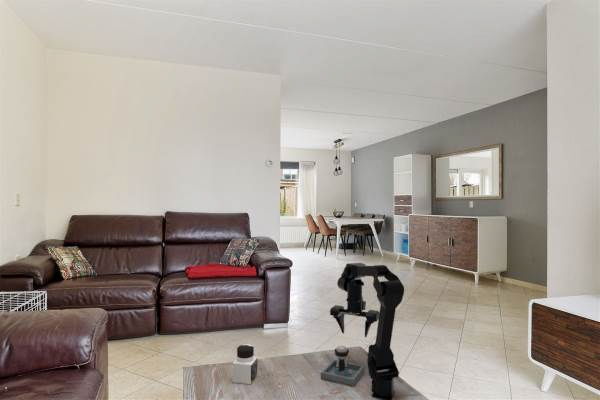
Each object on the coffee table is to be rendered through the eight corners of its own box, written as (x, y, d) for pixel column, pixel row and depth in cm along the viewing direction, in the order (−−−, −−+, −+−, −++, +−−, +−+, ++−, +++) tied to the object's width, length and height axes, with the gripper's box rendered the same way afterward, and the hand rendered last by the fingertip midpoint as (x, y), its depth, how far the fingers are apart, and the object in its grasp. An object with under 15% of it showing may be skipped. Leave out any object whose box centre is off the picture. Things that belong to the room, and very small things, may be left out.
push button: (351, 371, 141) (351, 345, 141) (353, 377, 135) (353, 350, 136) (333, 371, 141) (333, 345, 141) (335, 378, 135) (335, 350, 136)
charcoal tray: (364, 372, 141) (364, 365, 141) (353, 386, 130) (353, 379, 130) (333, 365, 147) (333, 359, 147) (320, 379, 135) (320, 372, 136)
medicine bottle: (251, 384, 131) (251, 350, 131) (232, 382, 132) (232, 349, 133) (257, 375, 138) (257, 343, 138) (239, 373, 139) (239, 341, 140)
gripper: (383, 293, 148) (383, 332, 148) (339, 288, 156) (339, 325, 156) (376, 299, 138) (375, 341, 138) (329, 294, 146) (329, 333, 146)
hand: (354, 335), depth 145 cm, fingers open, 9 cm apart
